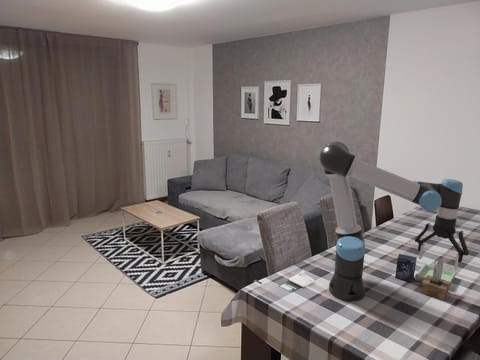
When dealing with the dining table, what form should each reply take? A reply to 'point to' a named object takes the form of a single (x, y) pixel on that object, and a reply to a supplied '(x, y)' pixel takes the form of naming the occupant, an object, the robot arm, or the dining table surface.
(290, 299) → the dining table surface
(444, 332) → the dining table surface
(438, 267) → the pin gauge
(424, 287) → the tan square frame
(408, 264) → the box
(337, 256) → the robot arm
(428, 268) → the tray
